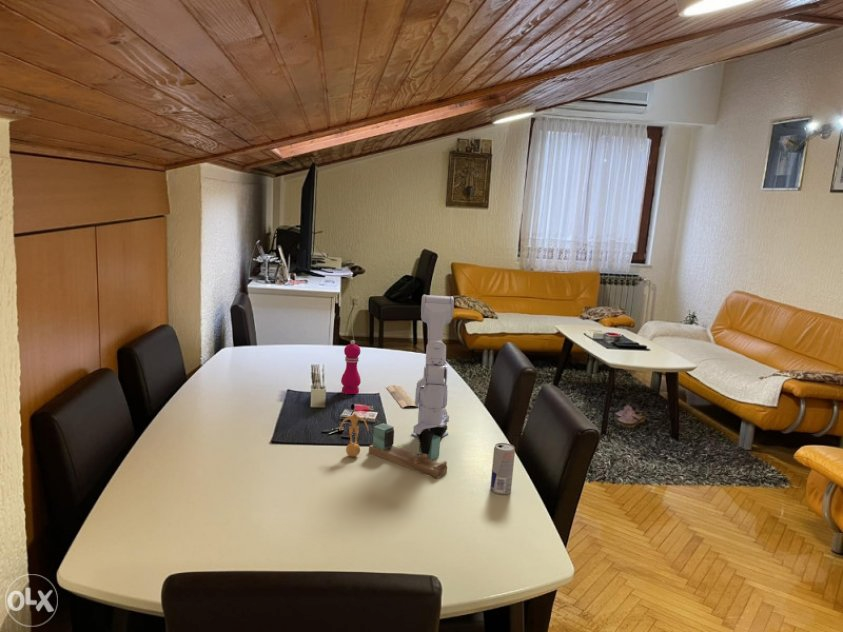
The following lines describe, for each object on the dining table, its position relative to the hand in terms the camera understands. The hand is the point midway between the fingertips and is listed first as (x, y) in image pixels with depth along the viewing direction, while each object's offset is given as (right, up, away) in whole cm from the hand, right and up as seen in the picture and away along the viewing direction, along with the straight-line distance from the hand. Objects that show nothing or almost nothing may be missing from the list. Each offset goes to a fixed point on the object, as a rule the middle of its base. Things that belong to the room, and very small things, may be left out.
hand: (429, 451), depth 182 cm
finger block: (0, -2, 0) cm, 2 cm away
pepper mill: (-29, +10, +54) cm, 62 cm away
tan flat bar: (-10, +8, +52) cm, 53 cm away
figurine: (-22, -1, -2) cm, 22 cm away
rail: (-6, -2, -5) cm, 8 cm away
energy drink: (+18, -7, -18) cm, 26 cm away
